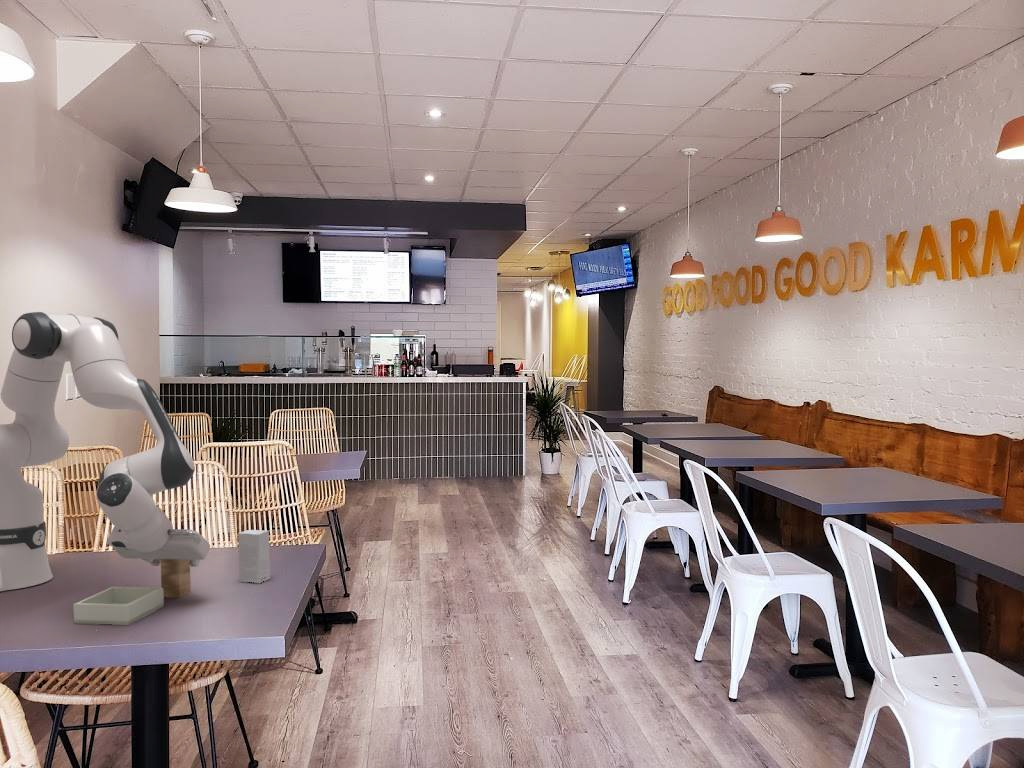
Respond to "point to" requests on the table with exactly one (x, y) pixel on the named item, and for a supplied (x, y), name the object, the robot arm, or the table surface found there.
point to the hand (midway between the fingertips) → (176, 563)
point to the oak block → (175, 577)
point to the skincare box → (254, 556)
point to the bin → (118, 605)
